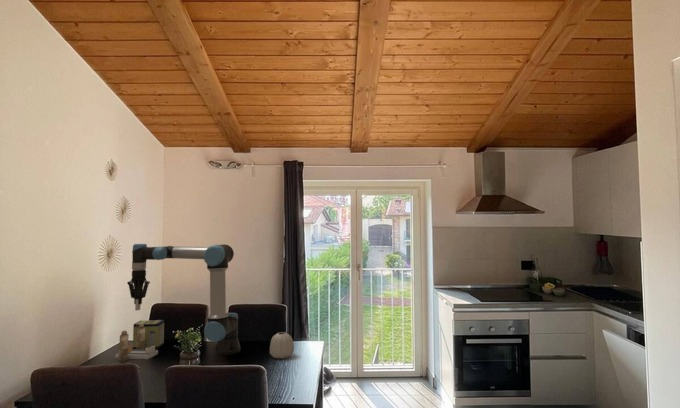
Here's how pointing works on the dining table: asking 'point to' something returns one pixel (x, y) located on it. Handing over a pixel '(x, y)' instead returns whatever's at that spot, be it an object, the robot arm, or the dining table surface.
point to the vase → (281, 345)
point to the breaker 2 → (150, 349)
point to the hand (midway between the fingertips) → (137, 309)
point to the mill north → (123, 346)
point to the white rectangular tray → (139, 354)
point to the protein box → (150, 333)
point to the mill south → (140, 337)
